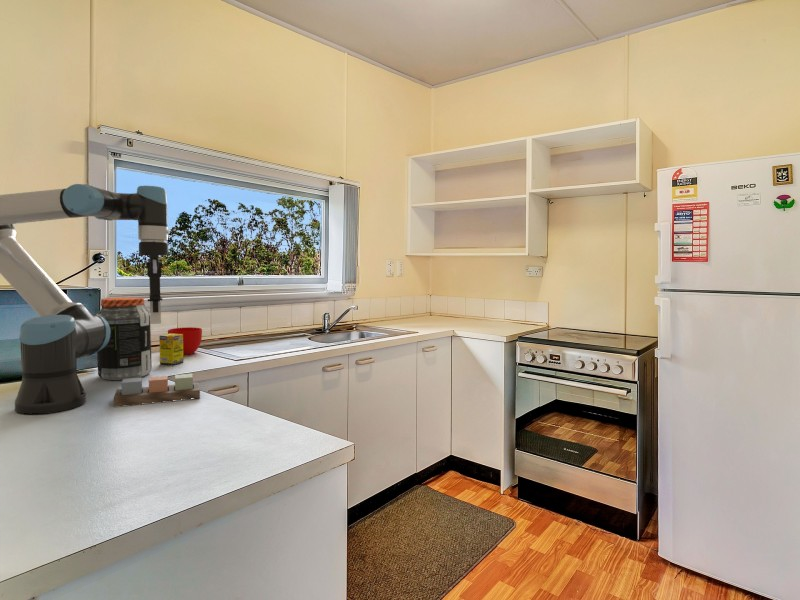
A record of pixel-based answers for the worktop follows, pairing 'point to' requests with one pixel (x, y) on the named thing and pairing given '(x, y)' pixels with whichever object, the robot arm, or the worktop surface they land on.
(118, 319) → the supplement tub
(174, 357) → the supplement box
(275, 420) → the worktop surface
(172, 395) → the wooden block tray
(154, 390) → the terracotta block
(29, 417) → the worktop surface
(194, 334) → the ceramic cup
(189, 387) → the sage block
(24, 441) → the worktop surface
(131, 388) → the slate block
